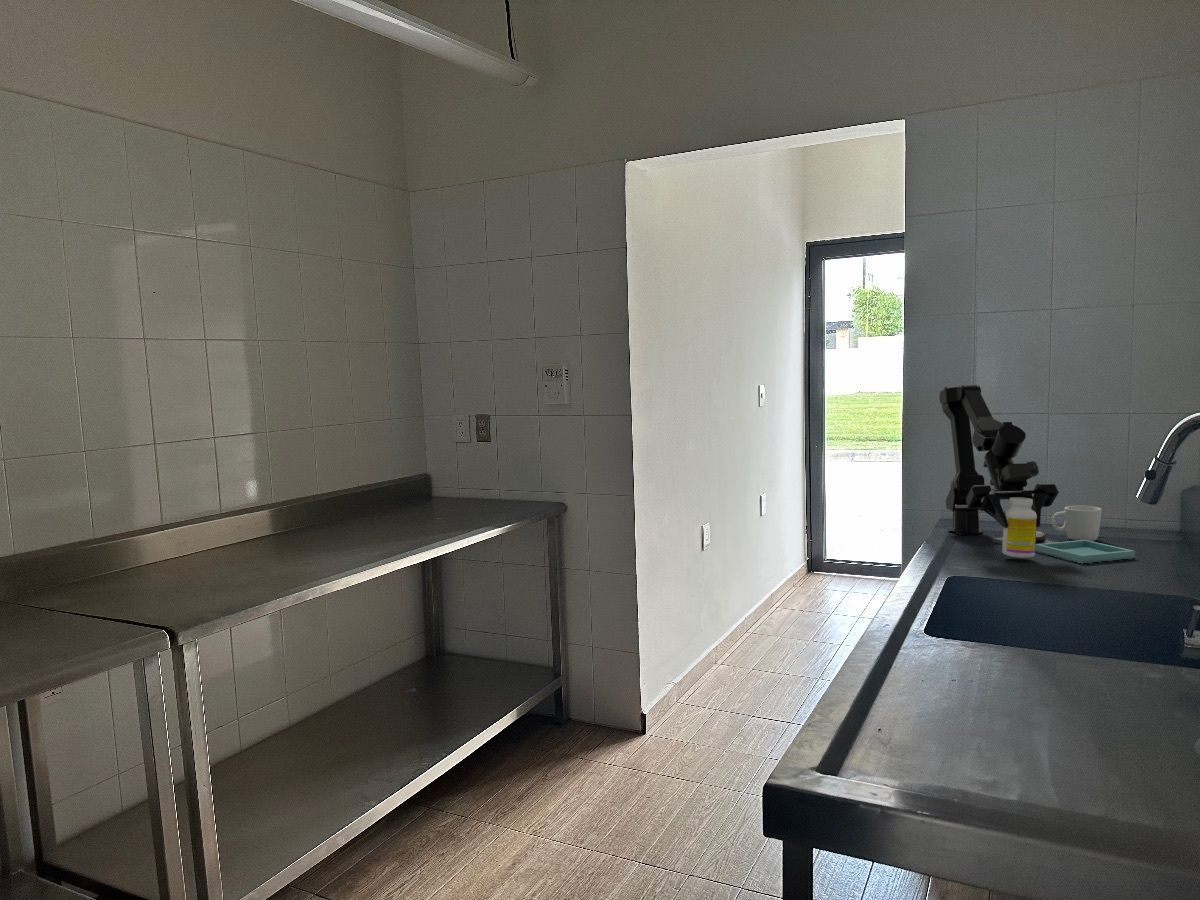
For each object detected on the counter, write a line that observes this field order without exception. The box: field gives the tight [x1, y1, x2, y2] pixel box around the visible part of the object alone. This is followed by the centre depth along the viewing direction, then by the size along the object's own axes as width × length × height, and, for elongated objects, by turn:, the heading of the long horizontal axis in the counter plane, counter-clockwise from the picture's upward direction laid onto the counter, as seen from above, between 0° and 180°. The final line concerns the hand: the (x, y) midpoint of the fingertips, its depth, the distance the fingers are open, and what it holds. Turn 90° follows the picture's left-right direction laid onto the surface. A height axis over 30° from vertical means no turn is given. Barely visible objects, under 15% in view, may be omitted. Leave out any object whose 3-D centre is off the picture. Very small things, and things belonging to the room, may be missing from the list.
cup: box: [1051, 505, 1103, 542], centre depth 210 cm, size 11×8×8 cm
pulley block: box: [992, 530, 1056, 546], centre depth 206 cm, size 12×10×4 cm
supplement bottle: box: [1001, 497, 1037, 559], centre depth 190 cm, size 7×7×13 cm
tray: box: [1035, 540, 1136, 565], centre depth 193 cm, size 14×14×2 cm
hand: (1022, 526), depth 189 cm, fingers closed on supplement bottle, 7 cm apart
